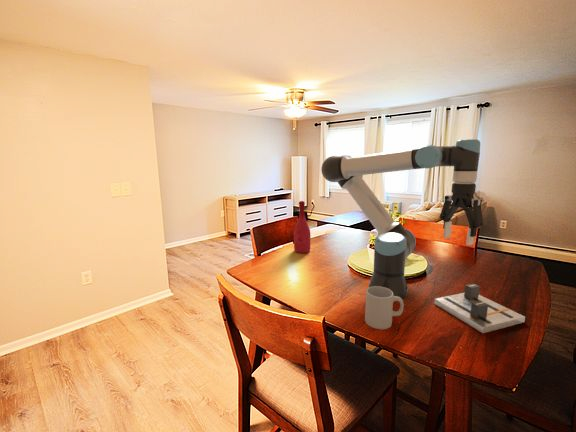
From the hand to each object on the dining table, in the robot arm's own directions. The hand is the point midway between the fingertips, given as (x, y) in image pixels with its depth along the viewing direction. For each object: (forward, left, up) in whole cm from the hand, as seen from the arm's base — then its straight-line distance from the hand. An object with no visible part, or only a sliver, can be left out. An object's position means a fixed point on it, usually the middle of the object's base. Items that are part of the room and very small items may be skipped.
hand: (457, 240), depth 107 cm
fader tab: (0, -8, -19) cm, 21 cm away
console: (-4, -14, -22) cm, 26 cm away
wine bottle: (-38, +69, -22) cm, 82 cm away
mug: (-38, -9, -22) cm, 45 cm away
